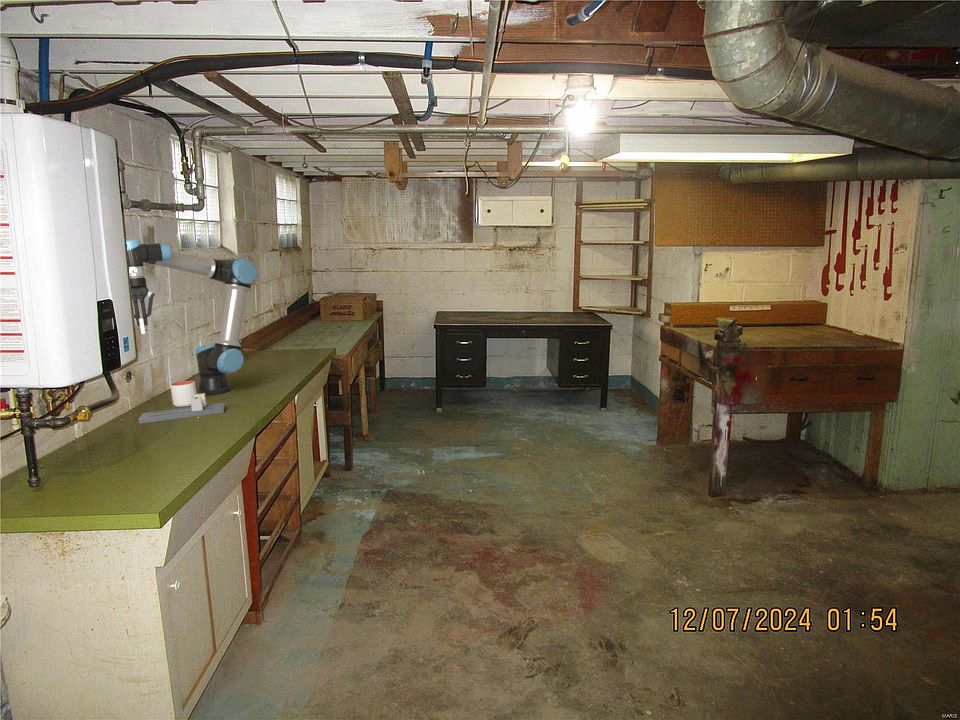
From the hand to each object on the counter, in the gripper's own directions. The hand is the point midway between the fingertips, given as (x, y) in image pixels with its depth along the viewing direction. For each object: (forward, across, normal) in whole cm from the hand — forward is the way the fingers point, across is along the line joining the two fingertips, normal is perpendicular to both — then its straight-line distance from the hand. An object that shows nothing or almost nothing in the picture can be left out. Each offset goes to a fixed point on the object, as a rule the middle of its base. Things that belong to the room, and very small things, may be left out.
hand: (143, 333), depth 269 cm
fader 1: (+32, +19, -9) cm, 38 cm away
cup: (+35, +11, +8) cm, 37 cm away
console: (+34, +12, -12) cm, 38 cm away
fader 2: (+32, +18, -15) cm, 40 cm away
